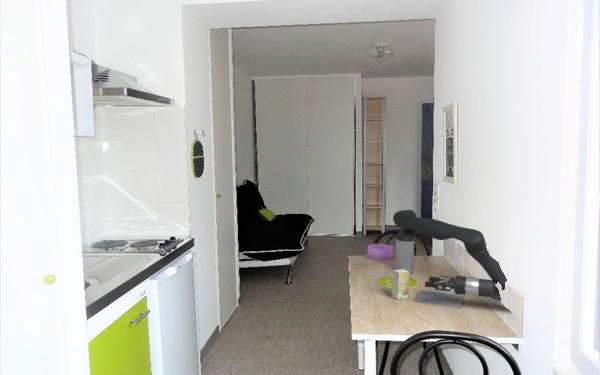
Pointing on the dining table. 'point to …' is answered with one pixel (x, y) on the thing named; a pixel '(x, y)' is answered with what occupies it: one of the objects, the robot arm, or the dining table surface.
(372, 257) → the purple basket
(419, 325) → the dining table surface
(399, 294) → the skincare box
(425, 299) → the mat
